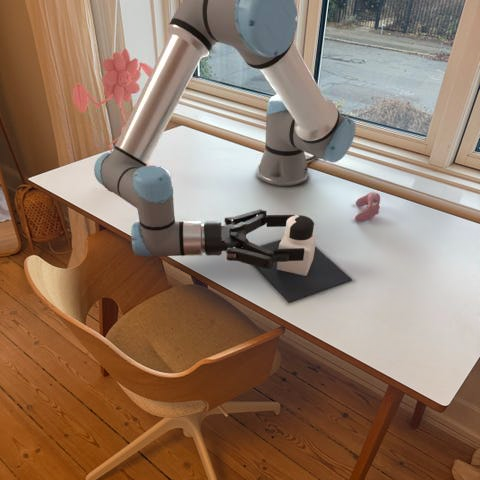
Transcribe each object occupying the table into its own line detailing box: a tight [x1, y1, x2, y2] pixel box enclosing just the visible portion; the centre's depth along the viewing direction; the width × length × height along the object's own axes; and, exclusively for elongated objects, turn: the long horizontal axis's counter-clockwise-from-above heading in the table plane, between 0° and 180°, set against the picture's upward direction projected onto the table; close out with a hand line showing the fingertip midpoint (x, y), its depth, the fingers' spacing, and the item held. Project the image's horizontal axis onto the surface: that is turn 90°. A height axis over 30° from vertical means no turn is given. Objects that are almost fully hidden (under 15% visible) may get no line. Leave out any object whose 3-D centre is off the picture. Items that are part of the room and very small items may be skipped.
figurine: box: [71, 48, 153, 190], centre depth 126 cm, size 15×26×35 cm, turn 138°
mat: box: [254, 239, 353, 304], centre depth 110 cm, size 17×21×1 cm
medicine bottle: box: [277, 214, 318, 276], centre depth 105 cm, size 7×7×12 cm
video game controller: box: [354, 191, 381, 223], centre depth 126 cm, size 10×5×7 cm, turn 168°
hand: (299, 236), depth 104 cm, fingers open, 13 cm apart
